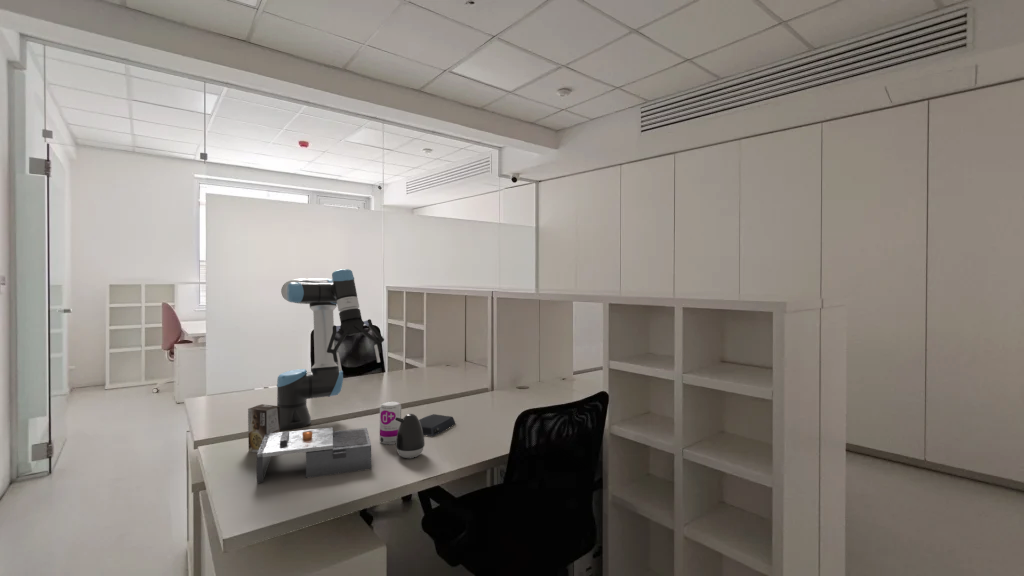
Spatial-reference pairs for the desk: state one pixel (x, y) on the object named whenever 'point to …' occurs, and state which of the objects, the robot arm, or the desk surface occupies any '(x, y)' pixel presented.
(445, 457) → the desk surface
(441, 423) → the external hard drive
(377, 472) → the desk surface
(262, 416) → the coffee box
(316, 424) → the desk surface
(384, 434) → the supplement can
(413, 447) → the pump dispenser
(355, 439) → the grey storage box
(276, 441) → the lid
